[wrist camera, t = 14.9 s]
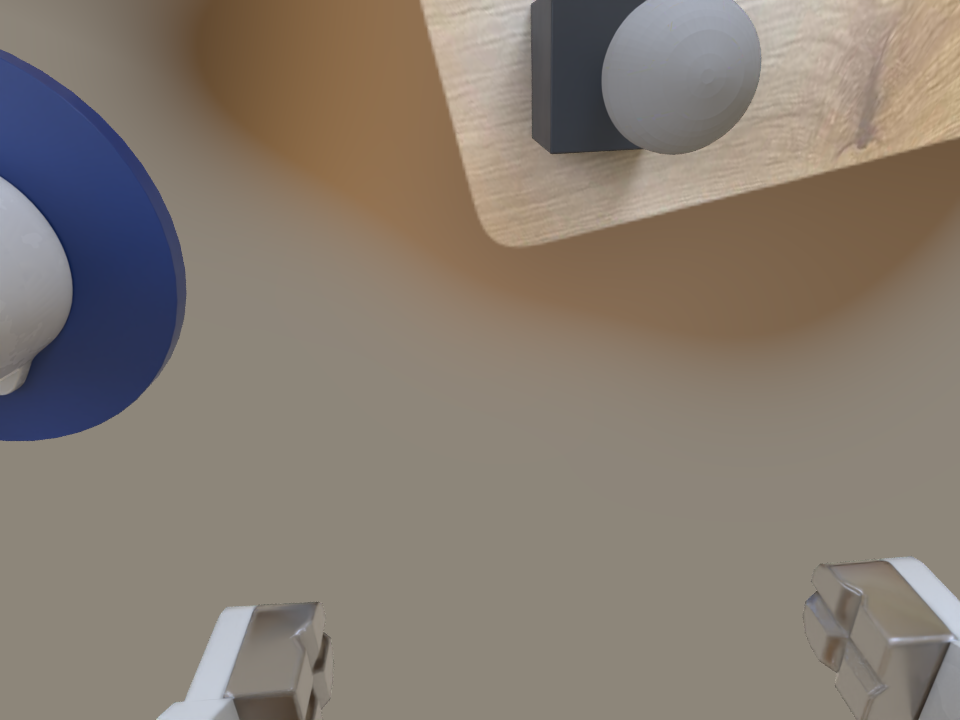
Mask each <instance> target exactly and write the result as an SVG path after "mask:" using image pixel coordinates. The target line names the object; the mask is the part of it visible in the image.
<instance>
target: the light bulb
mask: <svg viewBox="0 0 960 720" xmlns="http://www.w3.org/2000/svg"><path fill="white" fill-rule="evenodd" d="M760 71H761V48H760V42H759V38H758V35H757V32H756V29H755V27H754V25H753V23H752V21H751V20H750V18H749V17H748V15H747V14H746V13H745V12H744V10H743V9H742V8H741V7H740V6H739V5H738V4H737V3H736V2H735V1H733V0H647V1H645V2H644V3H642V4H641V5H639V6H638V7H637V8H636V9H635V10H634V11H633V12H632V13H630V14H629V15H628V17H627V18H626V19H625V20H624V21H623V23H622V24H621V25H620V27H619V28H618V30H617V31H616V33H615V35H614V37H613V39H612V41H611V43H610V45H609V47H608V50H607V52H606V55H605V59H604V63H603V68H602V93H603V99H604V103H605V106H606V109H607V112H608V115H609V117H610V119H611V121H612V122H613V124H614V125H615V127H616V128H617V129H618V131H619V132H620V133H621V134H622V135H623V136H624V137H625V138H626V139H628V140H629V141H630V142H632V143H633V144H635V145H637V146H639V147H641V148H643V149H646V150H649V151H652V152H656V153H660V154H670V155H675V154H684V153H689V152H693V151H696V150H698V149H701V148H703V147H705V146H707V145H709V144H711V143H712V142H714V141H716V140H717V139H719V138H720V137H722V136H723V135H724V134H726V133H727V132H728V131H729V130H730V129H731V128H732V127H733V126H734V125H735V124H736V123H737V122H738V121H739V120H740V118H741V117H742V116H743V114H744V113H745V111H746V110H747V108H748V106H749V105H750V103H751V101H752V99H753V96H754V94H755V91H756V88H757V85H758V82H759V77H760Z"/></svg>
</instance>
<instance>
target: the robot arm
mask: <svg viewBox="0 0 960 720" xmlns="http://www.w3.org/2000/svg"><path fill="white" fill-rule="evenodd" d="M72 296H73V286H72V277H71V271H70V267H69V263H68V260H67V257H66V254H65V252H64V249H63V247H62V245H61V243H60V241H59V239H58V237H57V235H56V233H55V232H54V230H53V229H52V227H51V226H50V224H49V223H48V221H47V220H46V219H45V217H44V216H43V215H42V214H41V212H40V211H39V210H38V209H37V208H36V207H35V206H34V204H33V203H32V202H31V201H30V200H29V199H28V198H27V197H26V196H25V195H23V194H22V193H21V192H20V191H19V190H18V189H17V188H15V187H14V186H13V185H12V184H10V183H9V182H8V181H6V180H5V179H3V178H2V177H1V176H0V395H7V394H10V393H11V392H13V391H15V390H17V389H18V388H20V387H21V386H22V385H23V384H24V382H25V380H26V378H27V375H28V373H29V369H30V366H31V363H32V360H33V359H34V357H35V356H36V355H37V354H38V353H39V352H40V351H41V350H43V349H44V348H45V347H46V346H47V345H49V344H50V343H51V342H52V341H53V340H54V339H55V338H56V337H57V335H58V334H59V333H60V331H61V330H62V328H63V327H64V325H65V323H66V321H67V318H68V316H69V313H70V309H71V304H72ZM811 582H812V584H813V585H814V586H815V588H816V589H817V591H816V592H815V593H814V594H813V595H812V596H811V597H810V598H809V599H808V600H807V601H806V602H805V607H804V612H803V622H804V628H805V634H806V637H807V639H808V641H809V644H810V646H811V648H812V650H813V652H814V653H815V655H816V657H817V658H818V660H819V661H820V662H821V663H823V664H825V665H826V666H827V667H829V668H830V669H832V670H833V671H835V672H836V673H837V675H836V683H835V687H836V688H837V690H838V692H839V693H840V695H841V696H842V698H843V699H844V701H845V702H846V704H847V706H848V707H849V709H850V710H851V712H852V714H853V715H854V717H855V718H856V720H960V601H959V600H958V599H957V598H956V597H955V596H954V595H953V594H952V593H951V592H950V591H949V590H948V589H947V588H946V587H945V585H943V583H942V582H941V581H940V580H939V579H938V578H937V577H936V576H935V575H934V574H933V573H932V572H931V571H930V570H929V569H928V568H927V567H926V566H925V565H924V564H923V563H922V562H921V561H919V560H918V559H915V558H914V557H911V556H910V557H898V558H886V559H879V560H877V559H871V560H860V561H848V562H837V563H826V564H820V565H818V566H817V567H816V569H815V570H814V572H813V576H812V579H811ZM325 621H326V615H325V611H324V607H323V604H322V603H320V602H308V603H289V604H267V605H257V606H237V607H226V608H225V610H224V611H223V612H222V614H220V616H219V617H218V620H217V622H216V625H215V627H214V630H213V632H212V635H211V637H210V640H209V642H208V644H207V647H206V649H205V652H204V654H203V657H202V659H201V662H200V664H199V667H198V669H197V671H196V674H195V676H194V679H193V681H192V683H191V686H190V689H189V691H188V693H187V696H186V698H185V701H184V702H174V703H173V704H172V705H171V706H170V707H169V708H168V709H167V710H166V711H164V712H163V713H162V714H161V715H160V716H159V717H158V718H157V719H156V720H323V717H322V712H321V710H322V708H323V707H324V706H325V705H326V704H327V702H328V701H329V700H330V696H331V690H332V684H333V667H334V659H333V647H332V643H331V638H330V637H329V636H328V635H327V634H325V633H324V632H323V631H324V627H325Z"/></svg>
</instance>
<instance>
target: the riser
mask: <svg viewBox="0 0 960 720" xmlns="http://www.w3.org/2000/svg"><path fill="white" fill-rule="evenodd" d="M645 1H647V0H536V1H535V2H533V3H532V4H531V57H532V138H533V139H534V140H535V141H536V142H538V143H539V144H540V145H541V146H542V147H544V148H545V149H546V150H547V151H548V152H550V153H551V154H561V153H579V152H597V151H616V150H634V149H643V148H641V147H639V146H637V145H635V144H633V143H632V142H630V141H629V140H628V139H626V138H625V137H624V136H623V135H622V134H621V133H620V132H619V131H618V129H617V128H616V127H615V125H614V124H613V122H612V121H611V119H610V117H609V115H608V112H607V109H606V106H605V103H604V99H603V93H602V68H603V63H604V59H605V55H606V52H607V50H608V47H609V45H610V43H611V41H612V39H613V37H614V35H615V33H616V31H617V30H618V28H619V27H620V25H621V24H622V23H623V21H624V20H625V19H626V18H627V17H628V15H629V14H630V13H632V12H633V11H634V10H635V9H636V8H637V7H638V6H639V5H641V4H642V3H644V2H645Z"/></svg>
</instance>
